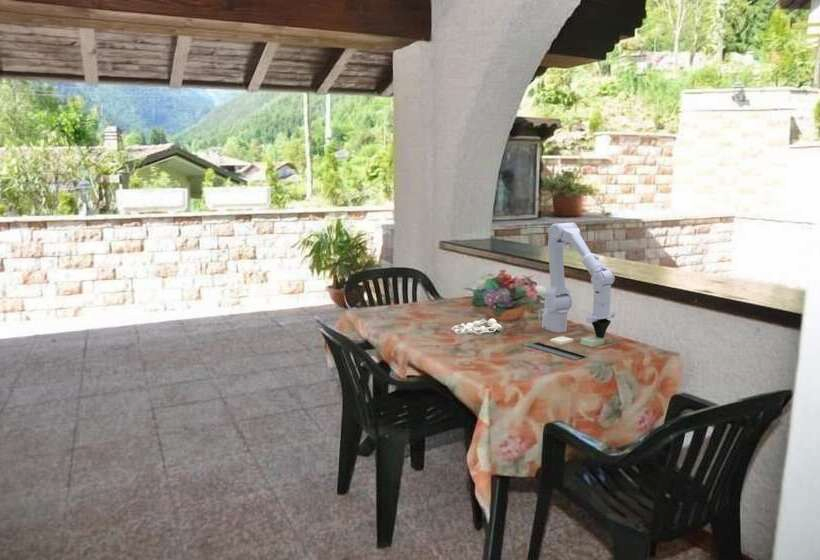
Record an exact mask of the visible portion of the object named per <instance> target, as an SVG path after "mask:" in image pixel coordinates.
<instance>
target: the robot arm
mask: <svg viewBox="0 0 820 560" xmlns="http://www.w3.org/2000/svg"><path fill="white" fill-rule="evenodd" d="M547 232H548V240H547V241H548V242H547V248H548V249H547V252H548V265H549V280H550V288H549V289H548V290H547V292H546V297H545V298H544V307H545V309H546V310H544V312H543V313H542V317H541V329H542V330H546V331H550V332H552V333H565V332H567V331H568V312H570V308H572V305H573V300H572V297H571V291H570V290H569V289H568V288H567V287H566V284H565V283H566V282H565V266H564V265H565V263H564V253H563V251H564V249H563V248H564V246H565V245H566V244H567V243H569V244H571V245H572V247H573V248H574V249H575V250H576V252H577V253H578V254H579V255H580V256H581V257H582V262H581V263H582V265H583V266H584V267H585V269H586V270H587V272H588V273H589V275H590V276H591V277H590V282H591V284H592V289H593V307H592V314H590V315H589V316H586V323H588V324H592V327H593V329H594V333H595V334H596V337H600V338H604V337H605V334H606V332H607V329H608V327H609V326H610V324H611V320H610V319H613V318H615V317H616V312H614V311H610V310H611V293H612V292H611V290H612V285H613V284H614V282H615V280H616V277H615V273H614V271H613V270H612V269H609V268H607V267H606V265H604V264H603V262H602V261H601V259H600V256H599V254H596V253H592V251H591V250H590V249H589V247H588V245H587V244H586V242H585V241H584V239H583V236H581V234H580V233H581V229H580V228H579V227H578V225H577V224H576V223H575V222H573V221H571V222H564V223H563V222H561V223H560V222H559V223H552V224H551V226H549V227H548V230H547Z"/></svg>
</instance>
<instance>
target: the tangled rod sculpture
mask: <svg viewBox="0 0 820 560" xmlns="http://www.w3.org/2000/svg"><path fill="white" fill-rule="evenodd" d="M483 324H487V325H488V326H487V327H486V326H485V325H483ZM489 326H490V327H489ZM502 329H503V327H502V325H501V324H499V323H498V322H497V320H496V319H495V318H489V319H488V320H487V319H485V318H484V317H483V318H482V319H480V320H474V321H473V322H467V323H466V324H465V323H461V324H457V325H454V326H453V327H451V330H452V331H453V333H455V334H458V335H459V334H461V335H465V334H466V333H469V334H473V333H474V334H477V335H481V334H485V333H489V334H490V333H494V332H497V331H496V330H498V331H500V330H502ZM492 330H494V331H492ZM478 331H479V332H478Z"/></svg>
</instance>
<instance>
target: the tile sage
mask: <svg viewBox="0 0 820 560" xmlns="http://www.w3.org/2000/svg"><path fill="white" fill-rule="evenodd" d="M602 344H604V338H600V337H596V336H589V337H586V338H582V339H581V343H580V345H582V346H586V347H590V348H594V346H598V345H602Z"/></svg>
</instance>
